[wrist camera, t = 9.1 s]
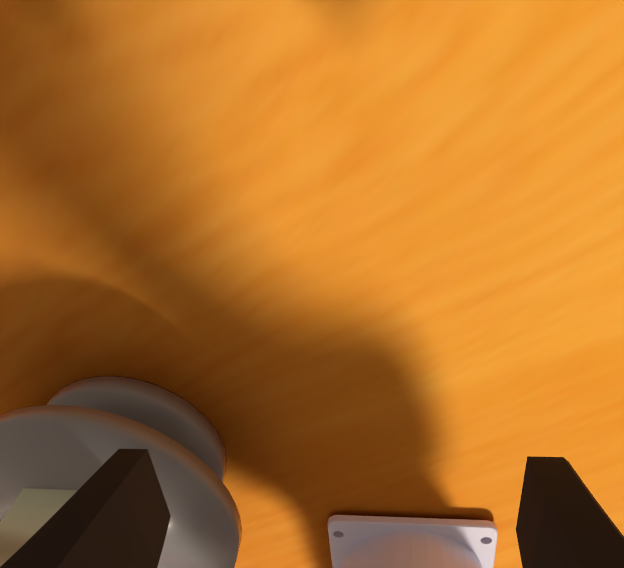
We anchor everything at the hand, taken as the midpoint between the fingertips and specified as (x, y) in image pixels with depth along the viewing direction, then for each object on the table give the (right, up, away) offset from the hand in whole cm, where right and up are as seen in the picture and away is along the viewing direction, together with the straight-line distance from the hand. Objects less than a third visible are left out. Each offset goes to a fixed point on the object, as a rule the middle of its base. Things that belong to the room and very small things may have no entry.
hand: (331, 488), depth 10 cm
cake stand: (-9, -4, +15) cm, 18 cm away
